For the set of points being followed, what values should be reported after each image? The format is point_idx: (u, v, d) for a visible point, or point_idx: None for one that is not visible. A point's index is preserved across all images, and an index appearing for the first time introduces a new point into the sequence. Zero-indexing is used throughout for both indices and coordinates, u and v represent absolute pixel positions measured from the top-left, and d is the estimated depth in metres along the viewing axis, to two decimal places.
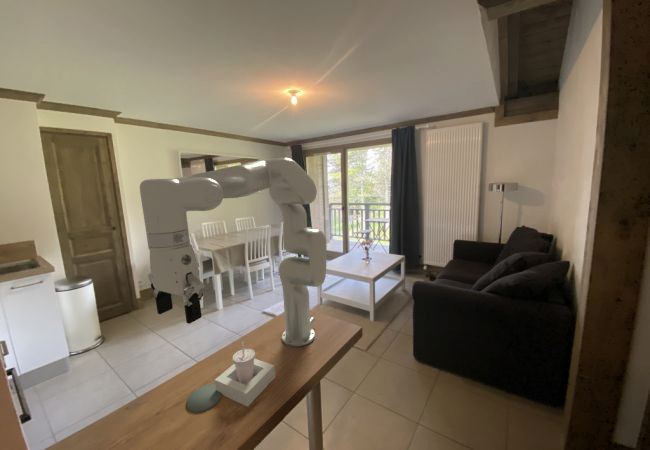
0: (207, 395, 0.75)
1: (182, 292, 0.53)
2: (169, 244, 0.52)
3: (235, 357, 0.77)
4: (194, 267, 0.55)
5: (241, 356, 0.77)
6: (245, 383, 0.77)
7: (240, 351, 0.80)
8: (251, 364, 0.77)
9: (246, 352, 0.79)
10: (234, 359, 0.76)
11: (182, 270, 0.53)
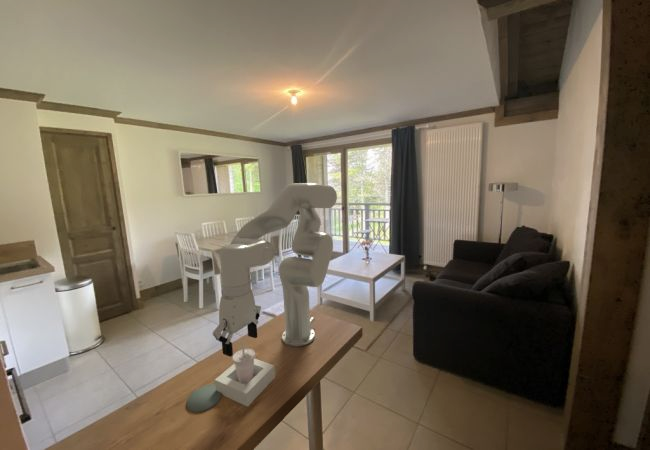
0: (207, 395, 0.75)
1: None
2: None
3: (235, 357, 0.77)
4: None
5: (241, 356, 0.77)
6: (245, 383, 0.77)
7: (240, 351, 0.80)
8: (251, 364, 0.77)
9: (246, 352, 0.79)
10: (234, 359, 0.76)
11: None
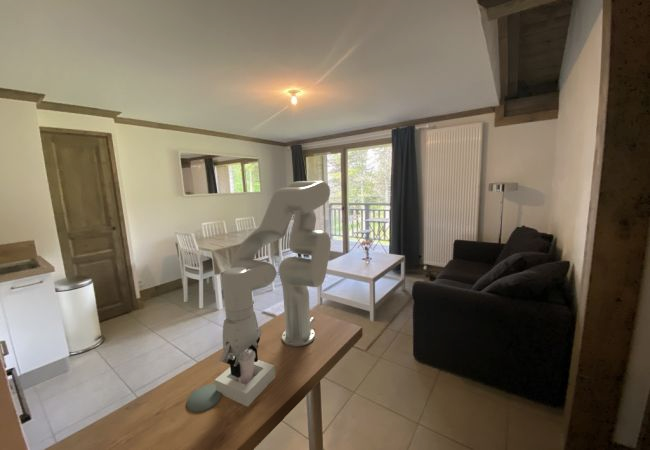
0: (207, 395, 0.75)
1: None
2: None
3: None
4: None
5: (241, 356, 0.77)
6: (245, 383, 0.77)
7: None
8: (251, 364, 0.77)
9: (246, 352, 0.79)
10: None
11: None
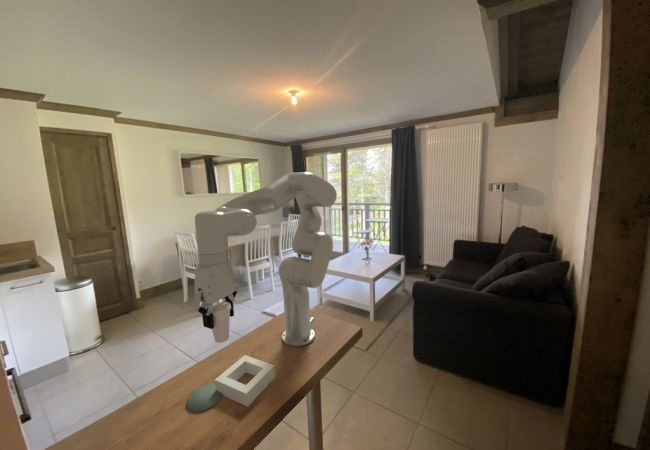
0: (207, 395, 0.75)
1: (234, 289, 0.76)
2: None
3: None
4: None
5: (215, 307, 0.72)
6: (220, 336, 0.72)
7: (215, 303, 0.75)
8: (226, 315, 0.72)
9: (221, 304, 0.74)
10: None
11: None
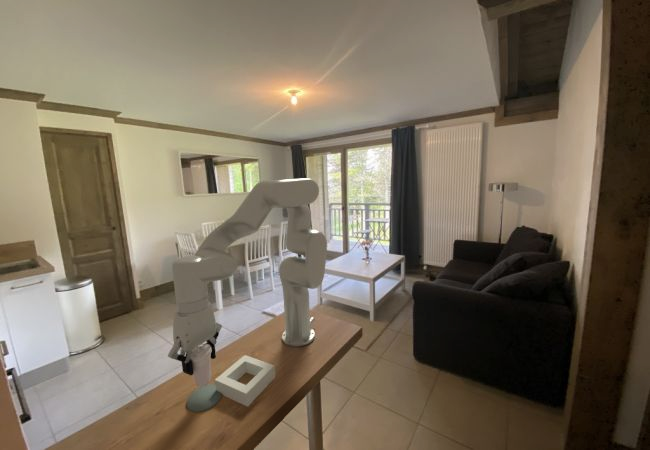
0: (207, 395, 0.75)
1: (216, 331, 0.75)
2: (208, 301, 0.72)
3: None
4: None
5: (195, 352, 0.72)
6: (200, 380, 0.72)
7: None
8: (206, 360, 0.71)
9: (202, 347, 0.73)
10: None
11: None
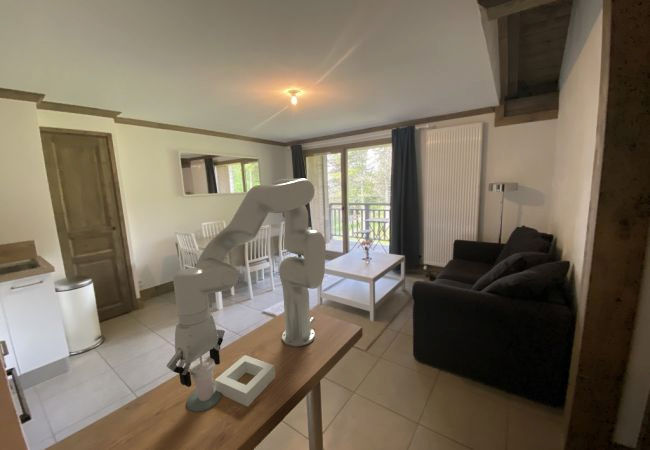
0: None
1: (217, 341, 0.76)
2: None
3: (192, 367, 0.73)
4: None
5: (199, 366, 0.73)
6: (203, 395, 0.73)
7: (199, 360, 0.75)
8: (209, 374, 0.73)
9: (205, 361, 0.75)
10: (191, 369, 0.72)
11: None
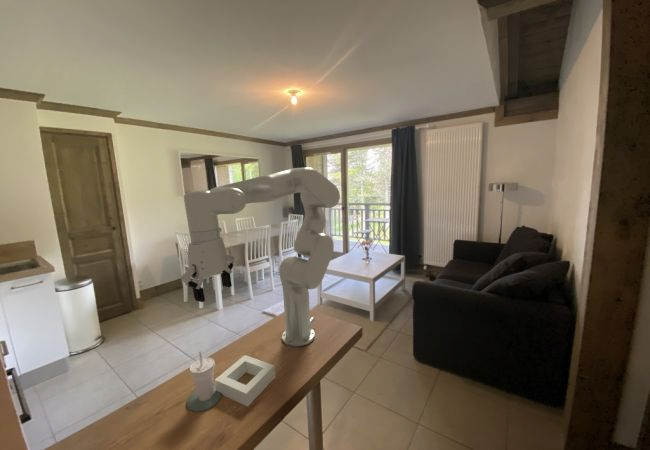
0: None
1: (228, 265, 0.79)
2: None
3: (192, 367, 0.73)
4: None
5: (199, 366, 0.73)
6: (203, 395, 0.73)
7: (199, 360, 0.75)
8: (209, 374, 0.73)
9: (205, 361, 0.75)
10: (191, 369, 0.72)
11: None
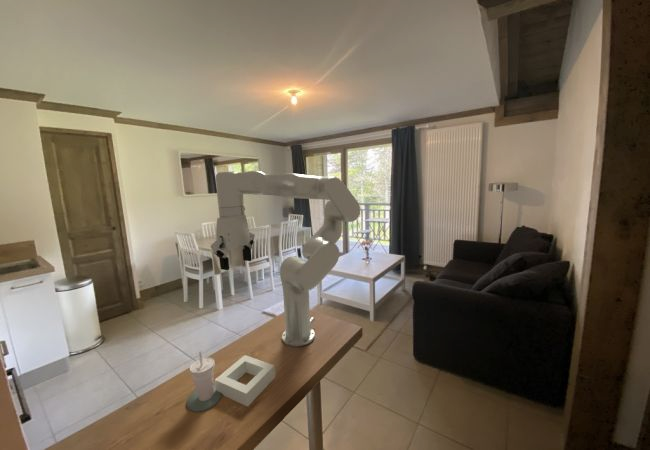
0: None
1: None
2: None
3: (192, 367, 0.73)
4: None
5: (199, 366, 0.73)
6: (203, 395, 0.73)
7: (199, 360, 0.75)
8: (209, 374, 0.73)
9: (205, 361, 0.75)
10: (191, 369, 0.72)
11: None
